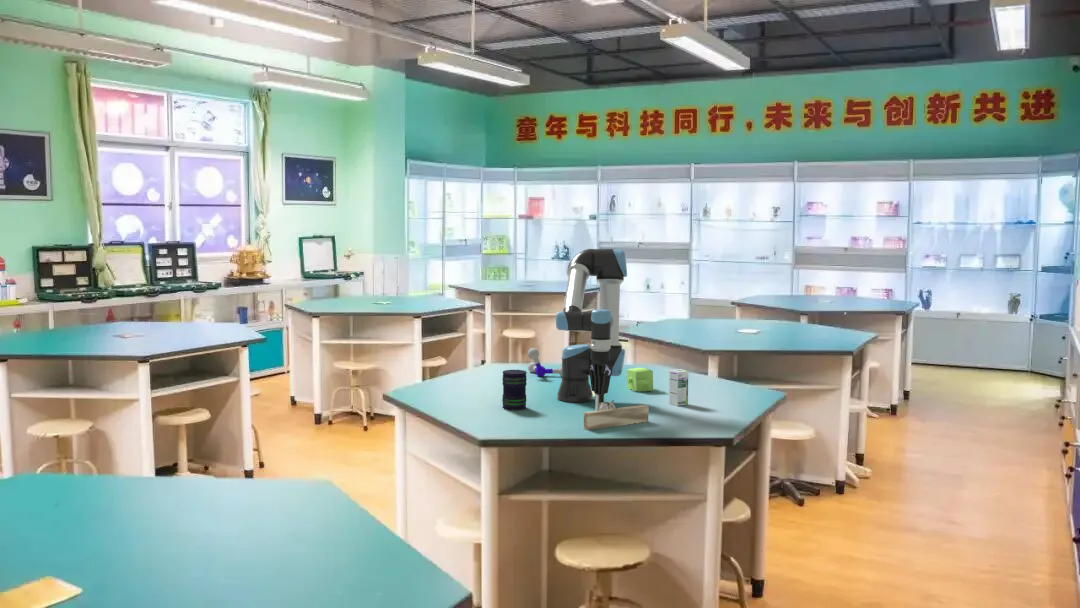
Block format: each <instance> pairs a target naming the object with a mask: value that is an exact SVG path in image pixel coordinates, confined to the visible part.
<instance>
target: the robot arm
mask: <svg viewBox="0 0 1080 608" xmlns="http://www.w3.org/2000/svg"><path fill="white" fill-rule="evenodd" d="M566 274H567V285H566V288H565V289H566V290H565V296H564V302H563V307H562V310H561V311H560V310H559V311H557V312H556V317H555V326H556V329H557V330H559V331H565V332H567V331H569V332H571V331H573V332H574V331H575V332H578V331H579V332H590V344H584V343H583V344H582V343H581V344H574V345H567V346H565V347H564V348H563V349H562V351H561V354H562V355H561V366H562V376H561V382H560V386H559V389H558V392H557V397H556V398H557V400H559V401H561V402H568V403H585V402H590V401H593V400H594V401H595V402H594V403H595V407H594V409H595V410H594V411H597V410H598V408H599V406H600V403H601V402H605V395H606V394H608V393H609V388H610V384H611V377H619V376H621V375H622V373H623V369H624V363H625V356H626V349H624V348H623V344H622V343H621V342H620V341H619V339H620V338H619V331H620V301H621V300H620V299H621V298H620V297H621V296H620V294H621V284H622V283H623V282H624V280H625V278H626V277H628V267H627V258H626V253H625V251H624V250H623V249H618V248H617V249H616V248H587V249H583V250H581V251H580V252H578V253H577V254H575V256H574V257H572V258H571V260H570V262H569V263H568V266H567V269H566ZM589 277H596V280H595V281H596V282H597V283H598V284H599V302H598V303H599V304H598V305H599V307H598V309H592V310H591V311H583V307H584V306H583V305H584V297H585V291H586V285H587V280H588V279H589ZM593 393H594V394H593ZM593 396H594V397H593ZM600 400H601V402H600Z"/></svg>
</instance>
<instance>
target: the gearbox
mask: <svg viewBox="0 0 1080 608" xmlns="http://www.w3.org/2000/svg"><path fill="white" fill-rule="evenodd" d="M625 376H626V388H627V389H628V388H629V390H631V389H632V390H631V391H633V390H634V391H633V392H636V391H637V392H650V391H654V372H653V370H652V369H649V368H646V367H635V368H628V369H626V375H625Z"/></svg>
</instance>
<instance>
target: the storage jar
mask: <svg viewBox="0 0 1080 608" xmlns="http://www.w3.org/2000/svg"><path fill="white" fill-rule="evenodd" d="M526 387H527V371H526V370H522V369H506V370H503V371H502V393H503V394H502V399H501V402H502V409H503V408H504V409H503V410H505V409H508V410H507V411H523V410H526V409H527V394H526V391H527V389H526Z"/></svg>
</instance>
